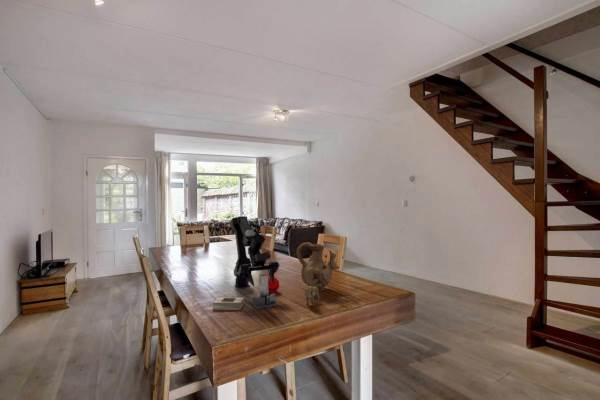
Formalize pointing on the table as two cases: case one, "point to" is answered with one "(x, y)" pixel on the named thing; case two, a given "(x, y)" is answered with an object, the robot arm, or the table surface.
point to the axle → (263, 285)
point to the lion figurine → (311, 294)
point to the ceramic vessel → (316, 266)
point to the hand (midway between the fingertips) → (263, 284)
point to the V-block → (263, 301)
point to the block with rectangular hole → (228, 303)
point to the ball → (273, 285)
